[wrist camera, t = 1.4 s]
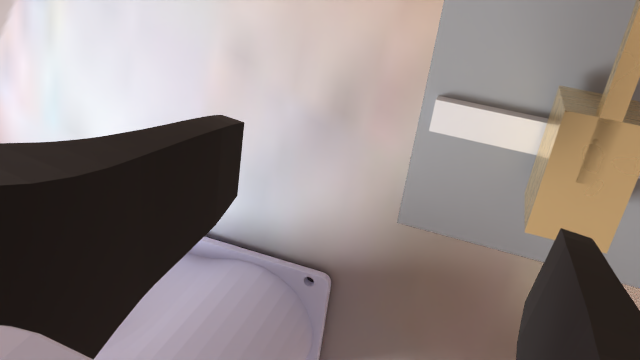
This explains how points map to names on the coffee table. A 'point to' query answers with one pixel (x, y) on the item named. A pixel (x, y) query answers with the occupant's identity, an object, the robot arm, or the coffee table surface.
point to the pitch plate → (508, 118)
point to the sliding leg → (589, 154)
